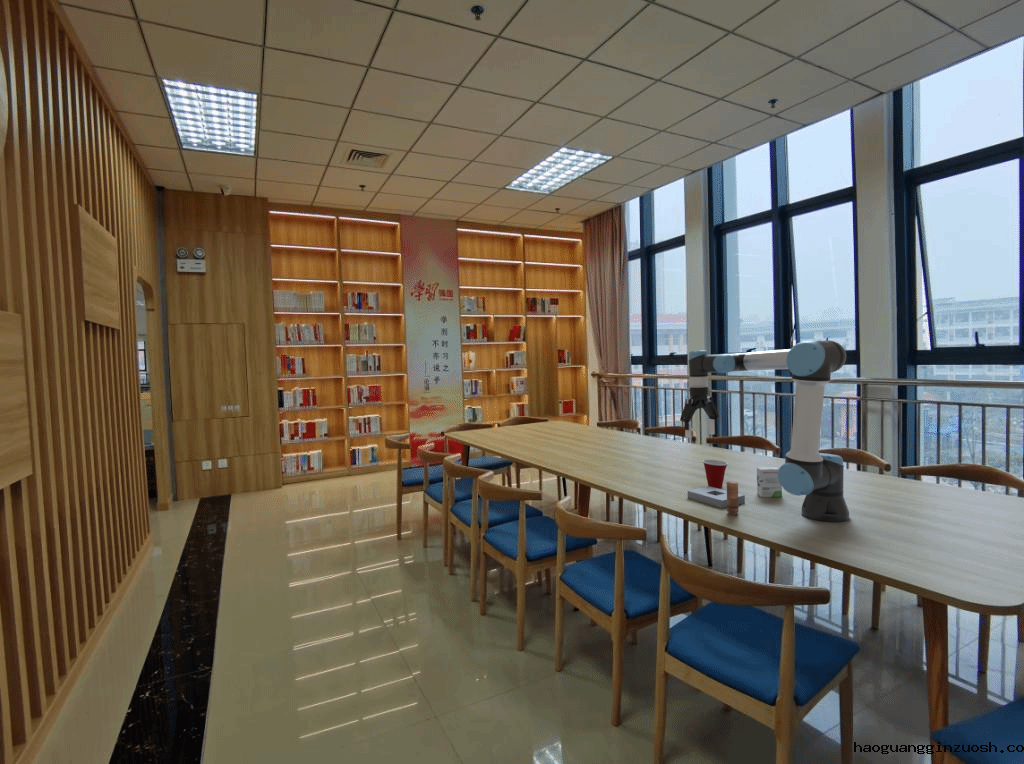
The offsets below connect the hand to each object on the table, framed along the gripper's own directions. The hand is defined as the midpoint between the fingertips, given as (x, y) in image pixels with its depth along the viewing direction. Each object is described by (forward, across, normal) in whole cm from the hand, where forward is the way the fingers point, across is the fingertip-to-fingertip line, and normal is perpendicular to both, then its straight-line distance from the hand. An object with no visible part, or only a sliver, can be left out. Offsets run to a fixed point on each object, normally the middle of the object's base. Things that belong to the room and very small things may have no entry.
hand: (700, 436), depth 224 cm
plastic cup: (+26, -15, -6) cm, 31 cm away
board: (+26, +1, +8) cm, 27 cm away
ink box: (+26, -22, +16) cm, 38 cm away
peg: (+26, +10, +24) cm, 37 cm away
